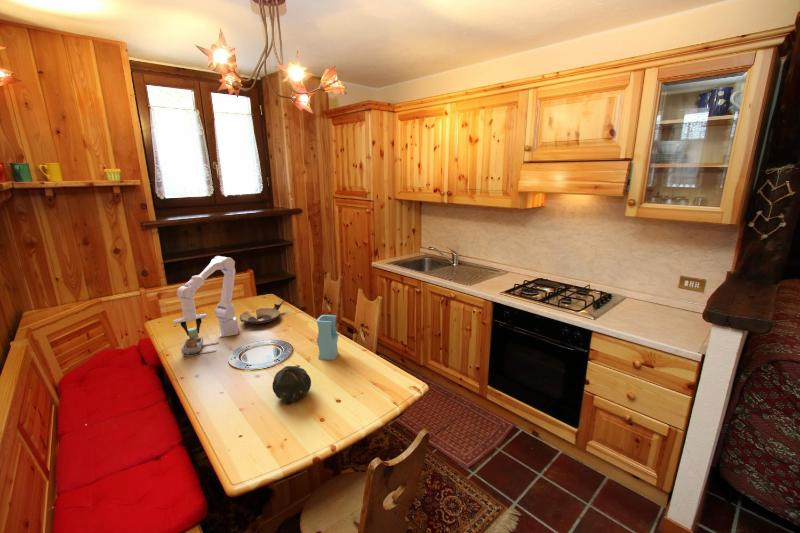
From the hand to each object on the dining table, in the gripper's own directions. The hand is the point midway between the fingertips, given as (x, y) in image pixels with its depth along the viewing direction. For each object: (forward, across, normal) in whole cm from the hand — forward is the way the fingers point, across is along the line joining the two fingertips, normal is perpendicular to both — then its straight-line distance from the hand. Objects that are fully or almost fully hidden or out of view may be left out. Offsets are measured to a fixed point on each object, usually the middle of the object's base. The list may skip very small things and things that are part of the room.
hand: (193, 333), depth 187 cm
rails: (+8, -2, +3) cm, 9 cm away
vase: (+8, -54, +47) cm, 72 cm away
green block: (+2, 0, 0) cm, 2 cm away
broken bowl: (+9, -39, -17) cm, 43 cm away
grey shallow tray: (+8, +1, +2) cm, 9 cm away
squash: (+9, -30, +70) cm, 76 cm away
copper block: (+6, +2, +5) cm, 8 cm away
